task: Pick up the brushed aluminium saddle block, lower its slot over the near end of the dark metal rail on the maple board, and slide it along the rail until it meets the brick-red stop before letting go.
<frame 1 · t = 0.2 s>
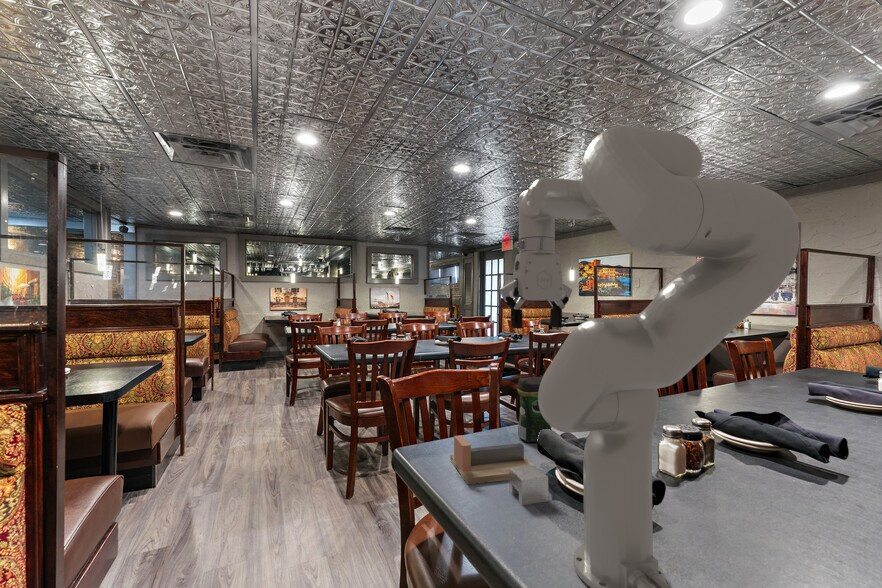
hand: (536, 327, 83), 36 cm above the table, tool pointing down, fingers open, 9 cm apart
rail: (494, 467, 96), resting on board
saddle block: (528, 496, 82), on the table
stop: (462, 471, 94), resting on board
board: (492, 467, 96), on the table
coffee jar: (534, 439, 117), on the table
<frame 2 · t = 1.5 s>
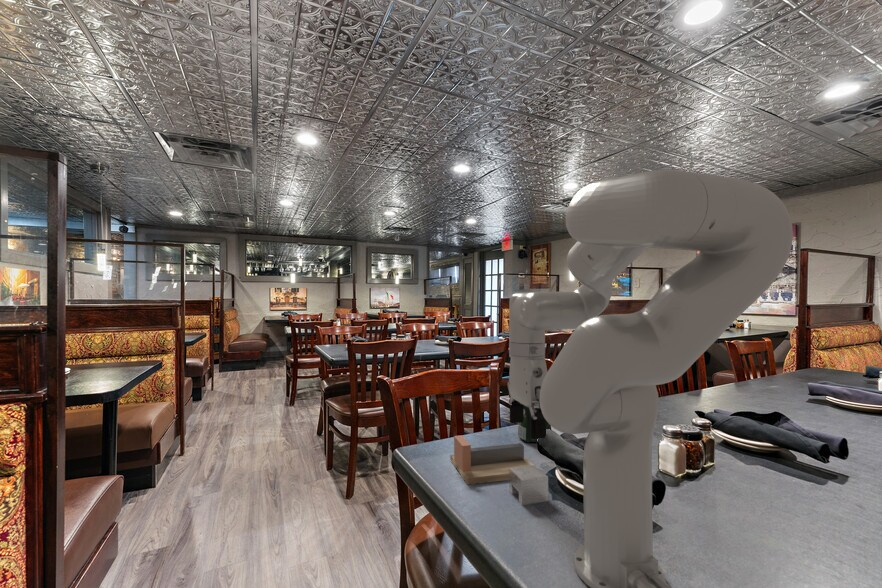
hand: (526, 429, 83), 14 cm above the table, tool pointing down, fingers open, 9 cm apart
nothing on the table moved.
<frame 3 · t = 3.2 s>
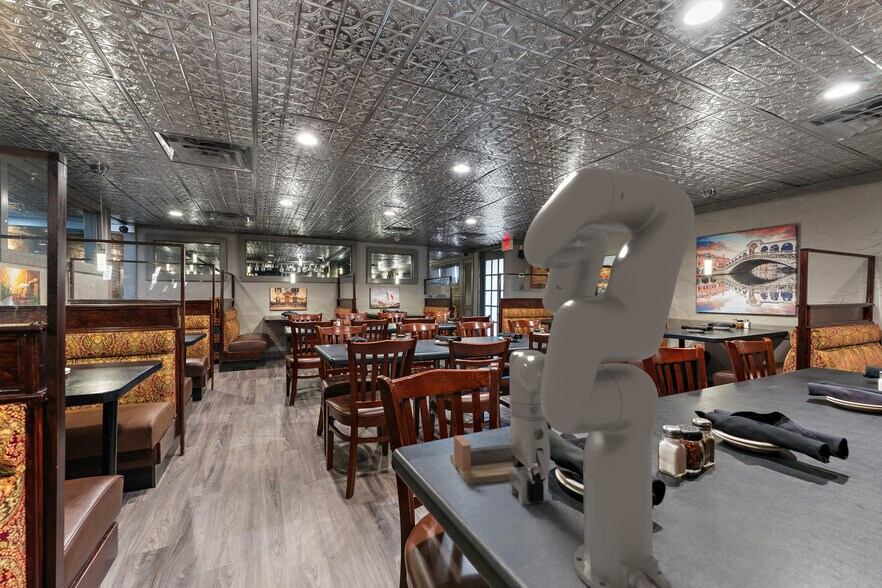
hand: (528, 492, 82), 1 cm above the table, tool pointing down, fingers closed on saddle block, 6 cm apart
saddle block: (528, 495, 82), on the table, touching gripper
everything else where it was.
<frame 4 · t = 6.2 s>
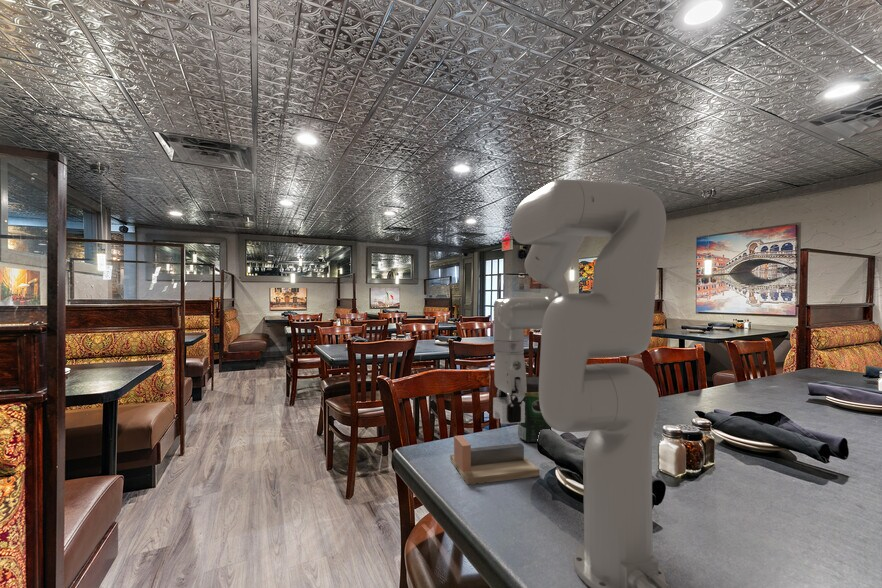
hand: (508, 417, 98), 12 cm above the table, tool pointing down, fingers closed on saddle block, 6 cm apart
saddle block: (508, 419, 98), point 11 cm above the table, touching gripper
everything else where it was.
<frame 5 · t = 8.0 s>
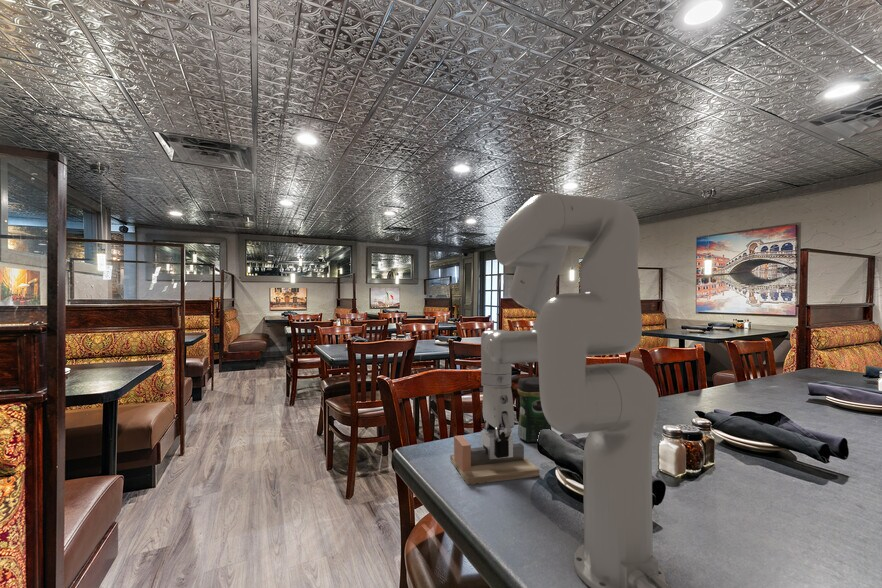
hand: (496, 451, 97), 4 cm above the table, tool pointing down, fingers closed on saddle block, 6 cm apart
saddle block: (496, 453, 97), point 3 cm above the table, touching gripper
everything else where it was.
when the fingers open (4 cm above the table, at t = 9.4 s): saddle block stays where it is, resting on rail.
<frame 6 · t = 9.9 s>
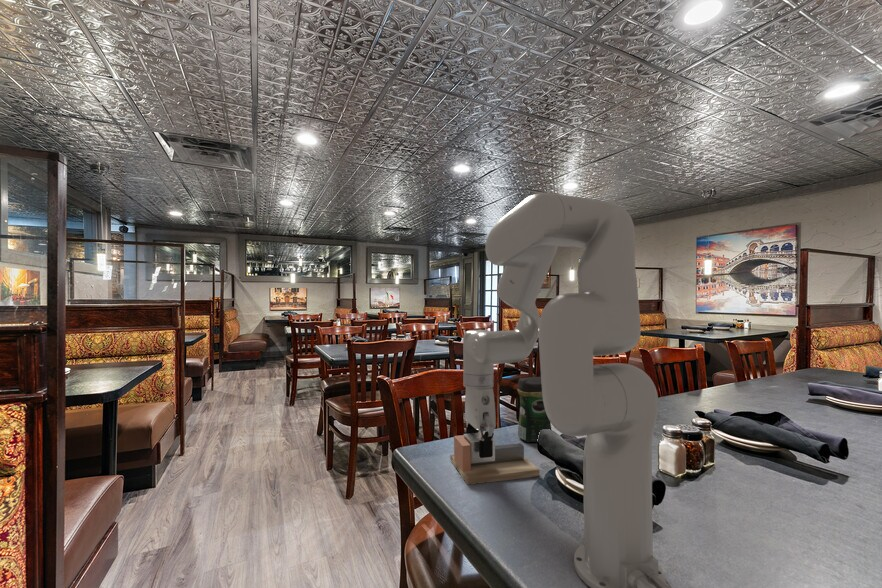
hand: (478, 449, 95), 5 cm above the table, tool pointing down, fingers open, 9 cm apart
saddle block: (479, 457, 95), point 3 cm above the table, touching rail
everything else where it was.
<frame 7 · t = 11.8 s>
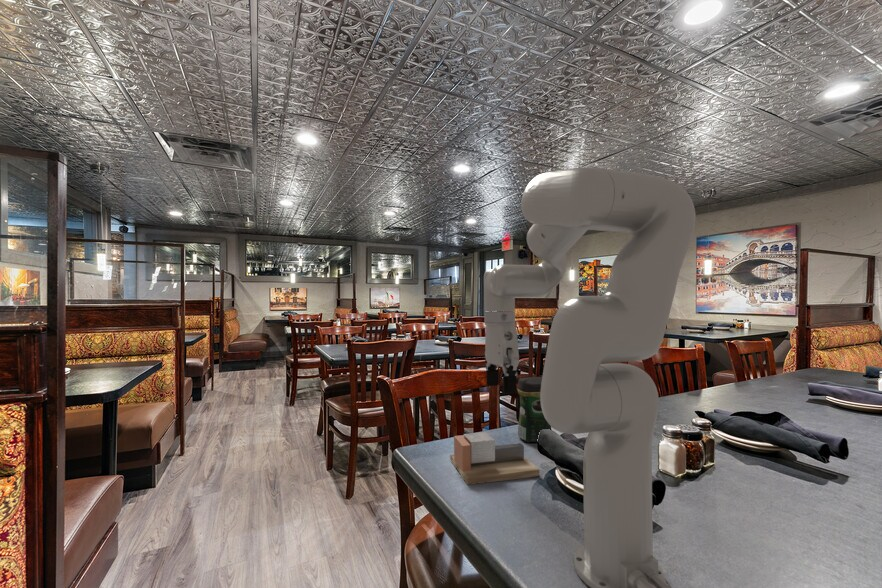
hand: (500, 389, 94), 20 cm above the table, tool pointing down, fingers open, 9 cm apart
nothing on the table moved.
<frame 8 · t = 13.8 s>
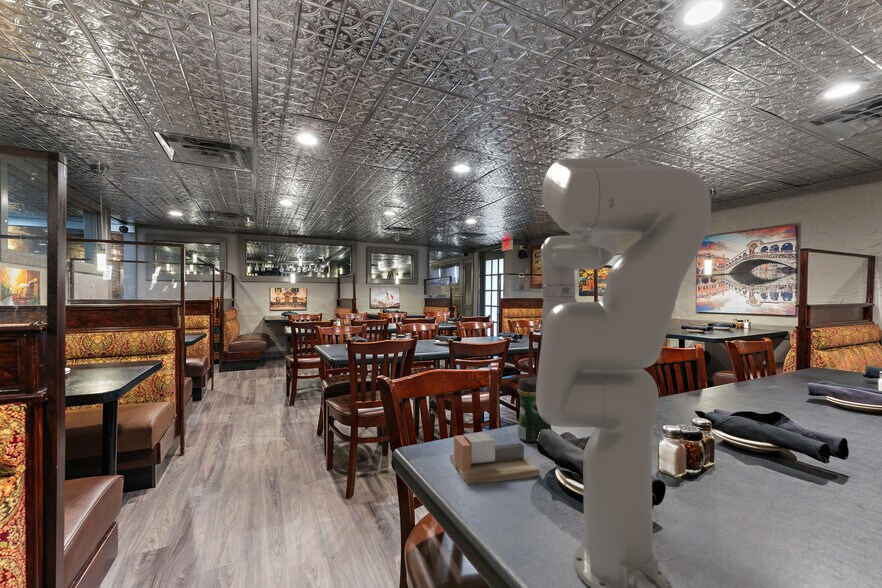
hand: (559, 364, 93), 26 cm above the table, tool pointing down, fingers open, 9 cm apart
nothing on the table moved.
at the end: saddle block 0.2 cm from the target spot, point 3.0 cm above the table; saddle block tilted 0°; the gripper is holding nothing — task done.
